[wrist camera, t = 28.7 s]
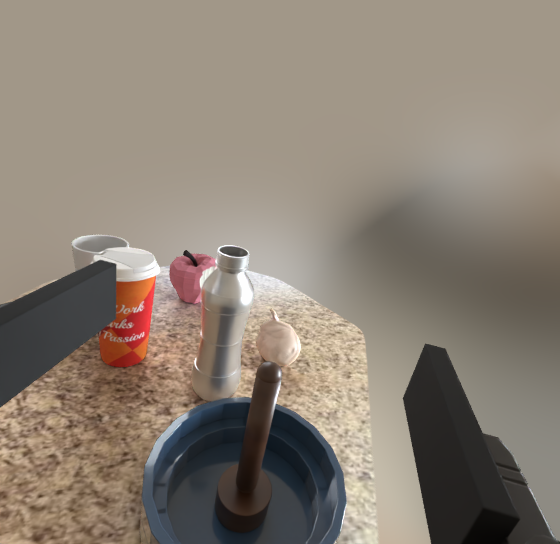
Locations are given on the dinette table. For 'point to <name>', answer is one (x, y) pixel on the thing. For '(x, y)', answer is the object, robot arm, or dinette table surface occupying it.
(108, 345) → the coffee cup
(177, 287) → the apple
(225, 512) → the wooden stamp handle
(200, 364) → the silver water bottle
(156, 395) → the dinette table surface
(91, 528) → the dinette table surface
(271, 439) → the bowl
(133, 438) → the dinette table surface
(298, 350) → the garlic bulb
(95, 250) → the cup
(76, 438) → the dinette table surface
